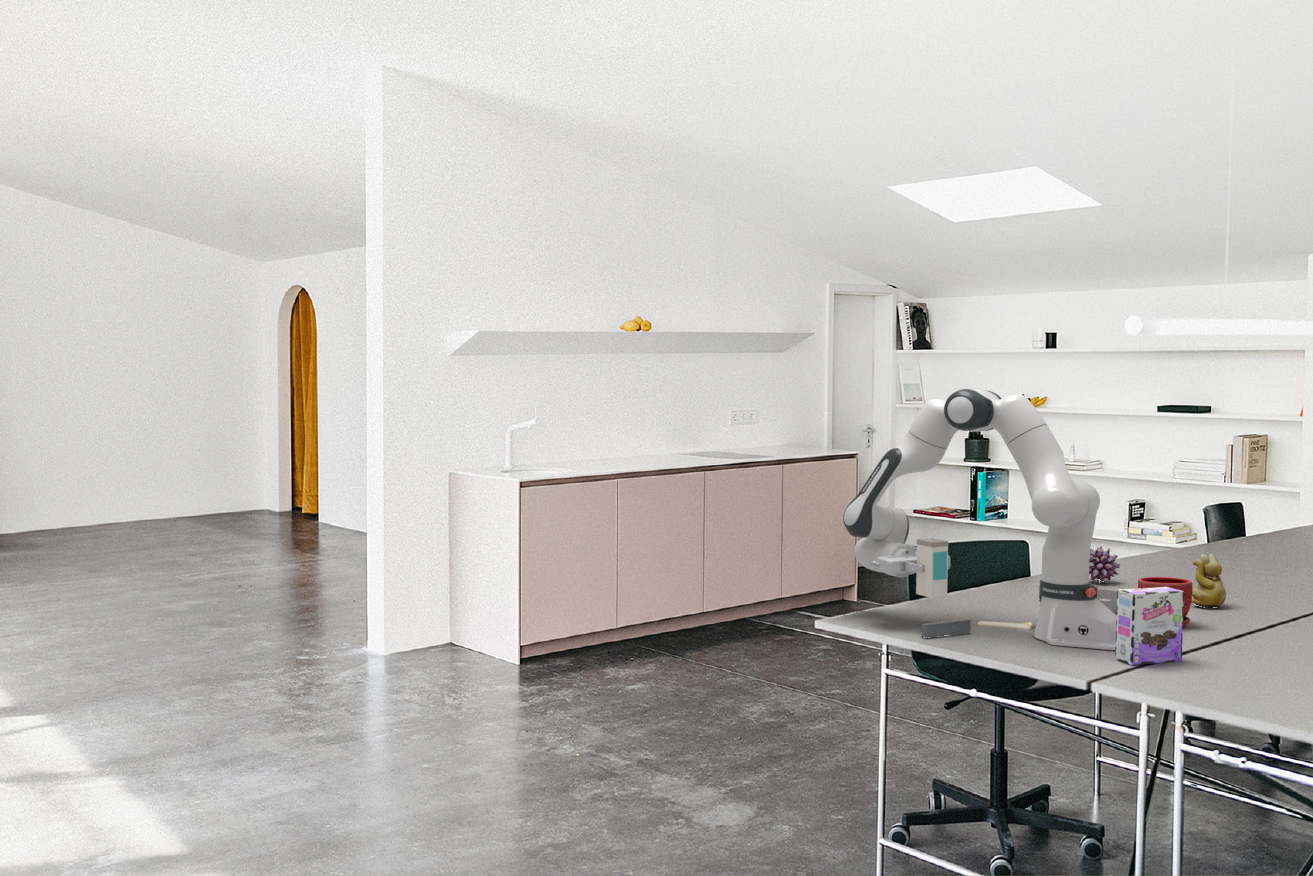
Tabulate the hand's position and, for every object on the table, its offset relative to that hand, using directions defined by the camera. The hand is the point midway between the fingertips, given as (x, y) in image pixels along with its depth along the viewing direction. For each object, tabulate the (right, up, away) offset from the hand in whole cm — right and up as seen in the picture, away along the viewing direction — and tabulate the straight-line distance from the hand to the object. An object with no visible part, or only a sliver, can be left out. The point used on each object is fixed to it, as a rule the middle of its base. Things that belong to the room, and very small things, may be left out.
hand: (932, 567), depth 289 cm
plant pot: (+63, -16, +10) cm, 66 cm away
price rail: (+2, -16, -4) cm, 17 cm away
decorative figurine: (+86, -15, +33) cm, 93 cm away
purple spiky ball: (+70, -13, +71) cm, 100 cm away
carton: (0, -7, +1) cm, 7 cm away
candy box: (+42, -18, -29) cm, 54 cm away
